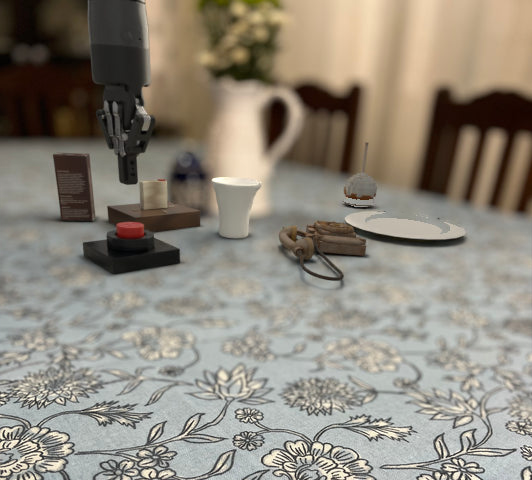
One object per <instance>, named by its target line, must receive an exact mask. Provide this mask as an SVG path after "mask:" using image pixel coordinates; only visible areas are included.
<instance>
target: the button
mask: <svg viewBox="0 0 532 480" xmlns="http://www.w3.org/2000/svg"><path fill="white" fill-rule="evenodd" d="M115 229H116V230H117V236H118V237H124V238H136V237H143V236H144V225H143V224H141V223H138V222H122V223H118V224H116V225H115Z"/></svg>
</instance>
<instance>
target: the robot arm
mask: <svg viewBox="0 0 532 480" xmlns="http://www.w3.org/2000/svg"><path fill="white" fill-rule="evenodd" d="M146 2H147V1H146V0H87V31H88V42H89V54H90V64H91V65H90V66H91V76H92V77H91V78H92V81H93V83H94V84H95V85H102V86H103V96H102V102H103V108H102V109H96V112H95V116H96V118H97V121H98V123H99V126H100V129H101V132H102V134H103V137H104V140H105V143H106V145H107V147H108V149H109V150H113V152H114V155H115V156H117V167H118V168H117V171H118V181H119V183H120V184H122V185H126V186H131V185H137V184H139V177H138V175H139V174H138V157H139V156H140V154H145V153H146V150H147V148H148V145H149V143H150V140H151V137H152V135H153V131H154V128H155V125H156V123H157V122H156V116H155V115H154V114H148V113H147V111H146V109H145V108H146V107H145V106H146V100H145V97H144V92H143V88H149V87H150V86H151V84H152V74H151V73H152V70H151V49H150V48H151V47H150V28H149V27H150V25H149V18H148V13H147V5H146V4H147V3H146Z"/></svg>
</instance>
